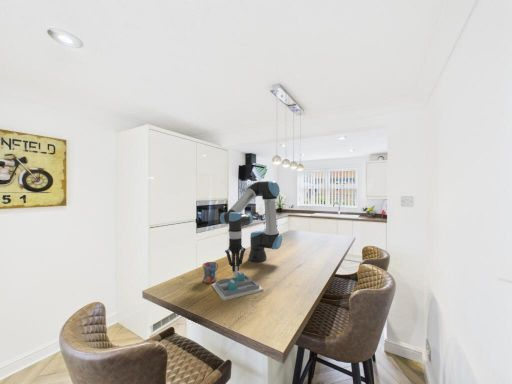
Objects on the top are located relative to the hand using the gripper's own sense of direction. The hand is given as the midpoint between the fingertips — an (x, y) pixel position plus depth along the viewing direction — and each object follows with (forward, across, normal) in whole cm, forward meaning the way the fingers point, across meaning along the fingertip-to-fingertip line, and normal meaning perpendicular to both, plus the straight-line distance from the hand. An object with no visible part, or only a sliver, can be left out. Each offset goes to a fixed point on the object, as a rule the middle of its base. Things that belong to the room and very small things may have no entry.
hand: (235, 276), depth 130 cm
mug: (+5, +11, -13) cm, 18 cm away
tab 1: (+4, +6, +9) cm, 11 cm away
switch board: (+5, +1, +5) cm, 7 cm away
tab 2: (+4, -3, 0) cm, 5 cm away
